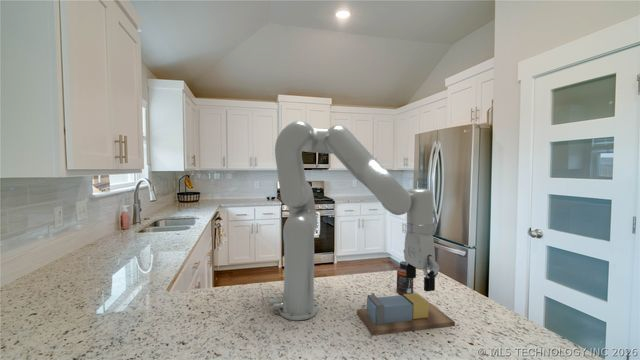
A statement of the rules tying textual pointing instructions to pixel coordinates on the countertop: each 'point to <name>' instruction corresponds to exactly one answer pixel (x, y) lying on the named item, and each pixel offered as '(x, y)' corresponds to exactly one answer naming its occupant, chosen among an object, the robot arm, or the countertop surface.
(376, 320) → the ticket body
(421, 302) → the yellow block
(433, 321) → the board
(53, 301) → the countertop surface
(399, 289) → the supplement bottle
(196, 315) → the countertop surface
